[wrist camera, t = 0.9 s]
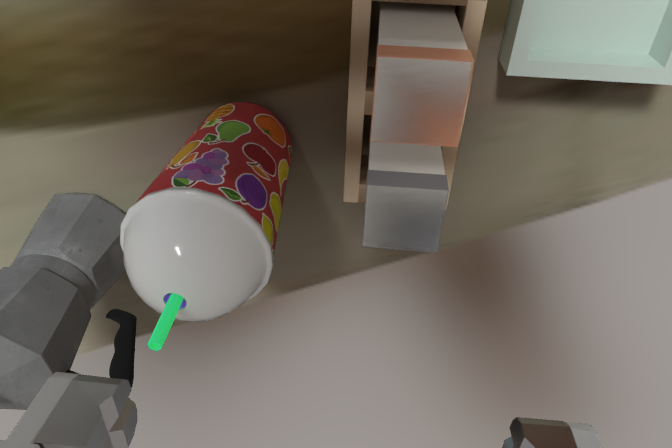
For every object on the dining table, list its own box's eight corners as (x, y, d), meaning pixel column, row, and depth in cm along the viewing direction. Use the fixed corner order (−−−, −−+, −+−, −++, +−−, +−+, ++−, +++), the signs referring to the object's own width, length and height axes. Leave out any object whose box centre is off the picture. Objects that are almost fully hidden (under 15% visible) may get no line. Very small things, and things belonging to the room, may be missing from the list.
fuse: (372, 95, 35) (366, 184, 26) (433, 99, 34) (448, 189, 26) (368, 149, 37) (361, 246, 28) (425, 152, 37) (436, 252, 28)
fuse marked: (380, -9, 31) (376, 55, 22) (449, -5, 30) (474, 60, 22) (375, 59, 33) (370, 141, 24) (439, 63, 33) (457, 147, 24)
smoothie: (207, 183, 42) (96, 397, 26) (184, 84, 37) (29, 275, 21) (309, 183, 41) (258, 405, 25) (300, 83, 36) (229, 280, 20)
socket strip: (366, -191, 27) (361, -196, 22) (502, -186, 26) (525, -190, 22) (348, 160, 39) (343, 201, 35) (440, 167, 39) (446, 209, 35)
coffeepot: (19, 247, 48) (-138, 422, 34) (15, 166, 42) (-174, 335, 28) (181, 295, 50) (98, 479, 36) (198, 224, 45) (108, 409, 30)
